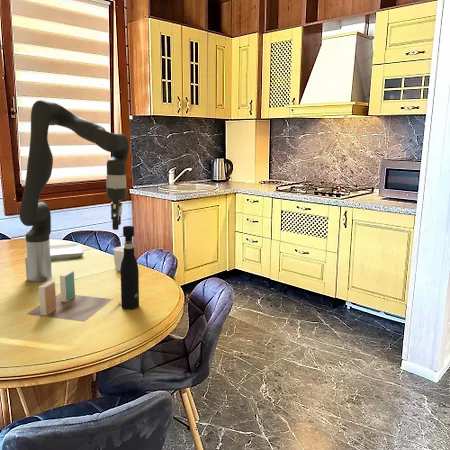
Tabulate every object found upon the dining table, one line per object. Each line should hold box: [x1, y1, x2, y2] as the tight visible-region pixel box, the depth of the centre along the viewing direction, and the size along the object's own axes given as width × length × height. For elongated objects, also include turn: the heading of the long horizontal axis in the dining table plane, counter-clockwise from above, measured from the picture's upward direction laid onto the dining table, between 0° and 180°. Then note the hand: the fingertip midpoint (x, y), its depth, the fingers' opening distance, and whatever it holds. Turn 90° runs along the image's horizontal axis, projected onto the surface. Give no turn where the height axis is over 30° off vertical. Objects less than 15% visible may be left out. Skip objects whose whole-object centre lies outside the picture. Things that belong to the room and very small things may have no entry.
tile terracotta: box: [38, 280, 57, 315], centre depth 142 cm, size 2×6×10 cm, turn 168°
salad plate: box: [50, 243, 84, 261], centre depth 215 cm, size 21×21×3 cm
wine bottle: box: [119, 225, 140, 311], centre depth 149 cm, size 6×6×30 cm
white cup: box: [113, 245, 125, 272], centre depth 194 cm, size 8×8×10 cm
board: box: [26, 292, 113, 322], centre depth 148 cm, size 22×20×1 cm
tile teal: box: [59, 270, 76, 302], centre depth 154 cm, size 2×6×10 cm, turn 168°
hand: (116, 227), depth 163 cm, fingers open, 8 cm apart
